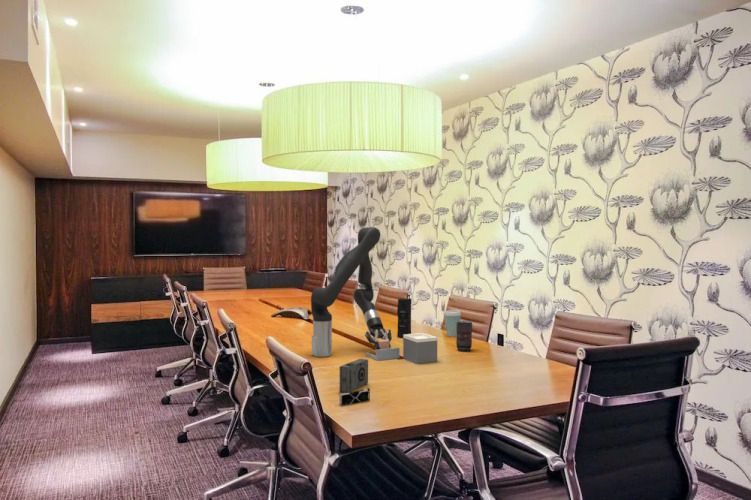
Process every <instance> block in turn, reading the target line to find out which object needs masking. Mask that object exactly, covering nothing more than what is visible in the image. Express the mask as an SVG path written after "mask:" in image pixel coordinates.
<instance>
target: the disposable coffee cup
mask: <svg viewBox="0 0 751 500" xmlns="http://www.w3.org/2000/svg"><path fill="white" fill-rule="evenodd" d="M461 318H462V312H461V310H458V309H449V310H445V311H444V312H443V319H444V325H445V332H446V335H447V337H449V336H450V337H449V338H455V337H456V338H457V332H456V324H457V321H461Z"/></svg>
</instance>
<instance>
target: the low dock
mask: <svg viewBox="0 0 751 500" xmlns="http://www.w3.org/2000/svg"><path fill="white" fill-rule="evenodd" d="M400 350H401V349H400V347H390V348H389V349H379V350H376V356H375V354H372V353H371V352H368V351H367V352H365V356H366V357H368V358H370V359H373V360H375V361H377V362H378V361H386V360H387V361H388V360H396V359H397V360H398V359H400V357H401V356H400V352H401V351H400Z"/></svg>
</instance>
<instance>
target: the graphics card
mask: <svg viewBox="0 0 751 500" xmlns="http://www.w3.org/2000/svg"><path fill="white" fill-rule="evenodd" d="M370 395H371V389H370V388H369V387H367V389H365V388H362V389H360V388H359V389H356V390H354V391H351V392H349V393H344V392H342V393H339V395H338V397H339V399H338V400H339V405H340V406H348V405H351V404H357V402H358V403H363V401H365V402H370V401H371V399H370V398H371V396H370Z"/></svg>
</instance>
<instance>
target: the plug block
mask: <svg viewBox="0 0 751 500" xmlns="http://www.w3.org/2000/svg"><path fill="white" fill-rule="evenodd" d="M377 342H378V344H379V346H380V349H389V341H388V340H385V339H377ZM374 348H375V347H374ZM376 350H377V349H376V348H375V351H374V352H375V353H374V355H375V356H376Z"/></svg>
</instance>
